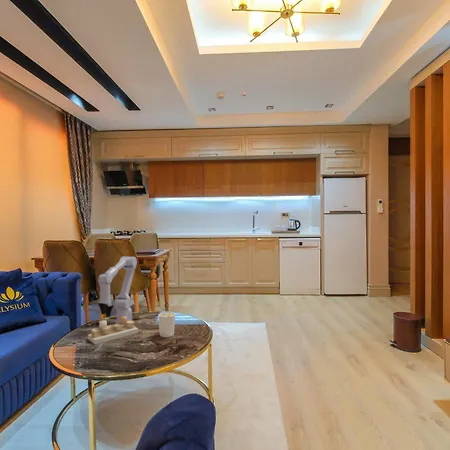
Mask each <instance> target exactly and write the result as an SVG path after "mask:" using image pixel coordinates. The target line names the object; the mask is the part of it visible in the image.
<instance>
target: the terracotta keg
mask: <svg viewBox="0 0 450 450" xmlns="http://www.w3.org/2000/svg"><path fill="white" fill-rule="evenodd" d="M126 323H127V316H120V324H126Z"/></svg>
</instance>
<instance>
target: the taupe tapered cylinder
mask: <svg viewBox="0 0 450 450" xmlns="http://www.w3.org/2000/svg"><path fill="white" fill-rule="evenodd" d="M107 322H108V321H107V319H106V320H105V319H103V320H99V322H98V323H99V326H98V328H99V329H106V328H107V326H108V323H107Z"/></svg>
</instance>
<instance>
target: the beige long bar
mask: <svg viewBox="0 0 450 450" xmlns="http://www.w3.org/2000/svg"><path fill="white" fill-rule="evenodd" d="M135 325H136V323H135V321H133V319H132V320H130V321H127V323H126V324H120V323H114V324H110V325H109V324H108V325H107V328H106V329H99V327H97V328H96V327H95V328H92V329H91V333H90V334H91V335H92V336H93V337H94V338H97V337H101V336H105V335H109V334H112V333H116V332H120V331H124V330H128V329H132V328H135V327H136V326H135Z"/></svg>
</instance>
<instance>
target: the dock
mask: <svg viewBox="0 0 450 450" xmlns="http://www.w3.org/2000/svg"><path fill="white" fill-rule="evenodd" d="M138 333H139V328H138V327H136V326H135V328H132V329H128V330H124V331H120V332H116V333H112V334H109V335H105V336H101V337H97V338H94V337H93V336H92V335H91V333H90V334H87V340H88V341H90V342H91V343H92V344H93V345H98V344H102V343H106V342H109V341H113V340H117V339H120V338H124V337H128V336H131V335H136V334H138Z"/></svg>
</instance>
